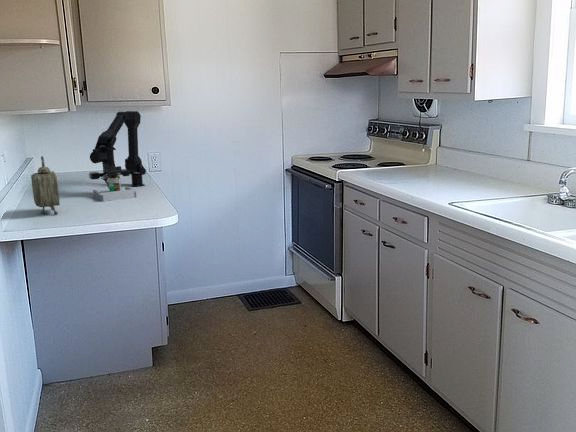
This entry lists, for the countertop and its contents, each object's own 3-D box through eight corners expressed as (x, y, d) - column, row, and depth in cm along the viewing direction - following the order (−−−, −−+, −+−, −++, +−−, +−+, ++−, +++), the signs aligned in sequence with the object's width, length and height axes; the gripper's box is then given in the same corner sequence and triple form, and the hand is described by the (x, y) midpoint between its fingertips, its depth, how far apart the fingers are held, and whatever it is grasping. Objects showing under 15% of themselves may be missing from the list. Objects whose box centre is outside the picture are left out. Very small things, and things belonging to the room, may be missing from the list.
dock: (93, 195, 285) (92, 188, 284) (127, 192, 294) (127, 184, 293) (101, 201, 273) (100, 193, 272) (136, 197, 282) (135, 189, 281)
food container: (108, 194, 288) (107, 175, 285) (121, 194, 289) (119, 174, 287) (107, 200, 276) (105, 179, 274) (120, 199, 278) (119, 178, 275)
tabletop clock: (61, 215, 247) (54, 157, 241) (38, 218, 243) (31, 159, 237) (56, 208, 260) (50, 153, 254) (35, 211, 256) (28, 155, 250)
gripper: (92, 164, 274) (95, 196, 278) (131, 160, 283) (133, 191, 287) (87, 161, 283) (90, 192, 287) (125, 157, 292) (127, 187, 296)
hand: (110, 191), depth 289 cm, fingers closed
